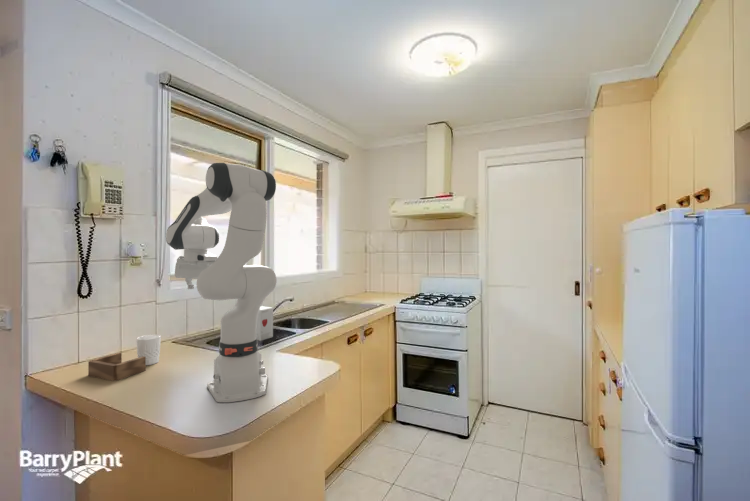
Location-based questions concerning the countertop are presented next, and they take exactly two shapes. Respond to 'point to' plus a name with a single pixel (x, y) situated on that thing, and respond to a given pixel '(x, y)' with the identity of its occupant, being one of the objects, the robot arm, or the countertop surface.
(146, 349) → the white cup
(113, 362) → the walnut rest
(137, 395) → the countertop surface
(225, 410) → the countertop surface
